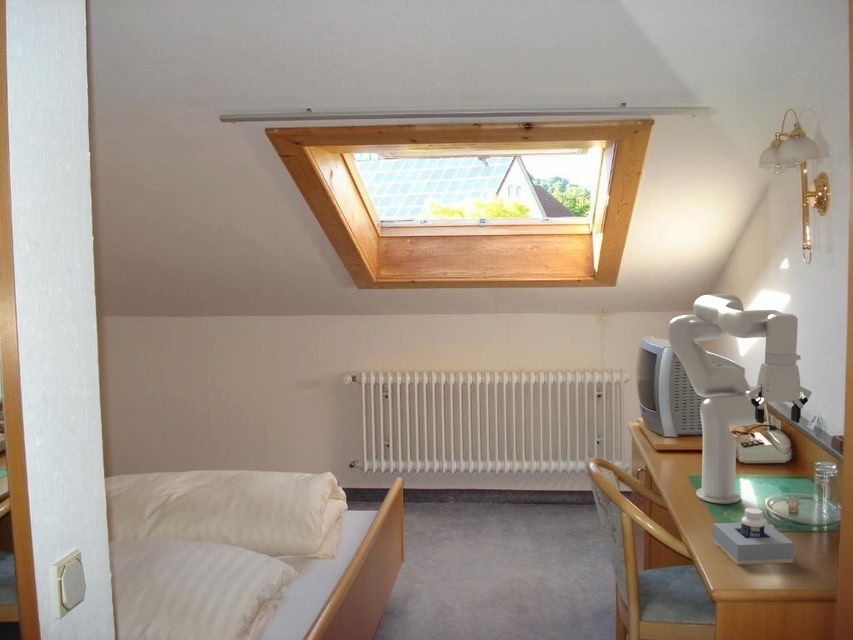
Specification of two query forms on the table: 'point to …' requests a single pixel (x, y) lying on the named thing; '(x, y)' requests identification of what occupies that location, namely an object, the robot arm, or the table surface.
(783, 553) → the socket block
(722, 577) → the table surface
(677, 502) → the table surface
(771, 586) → the table surface
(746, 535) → the pill bottle
